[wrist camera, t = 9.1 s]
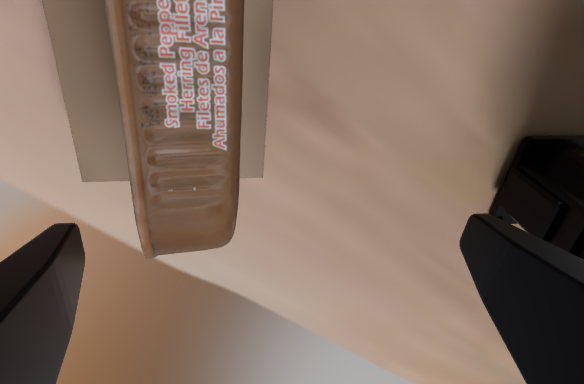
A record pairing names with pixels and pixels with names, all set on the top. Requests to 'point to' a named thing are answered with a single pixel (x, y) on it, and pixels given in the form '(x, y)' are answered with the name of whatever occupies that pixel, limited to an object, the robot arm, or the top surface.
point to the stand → (104, 97)
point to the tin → (180, 117)
